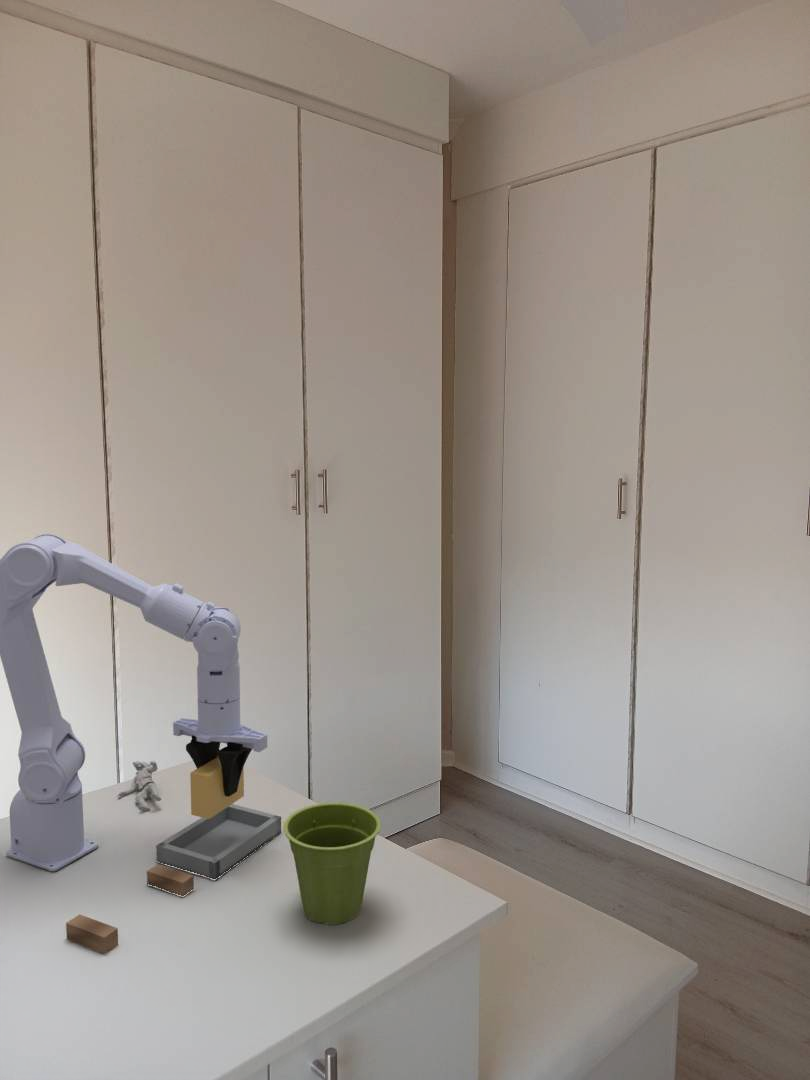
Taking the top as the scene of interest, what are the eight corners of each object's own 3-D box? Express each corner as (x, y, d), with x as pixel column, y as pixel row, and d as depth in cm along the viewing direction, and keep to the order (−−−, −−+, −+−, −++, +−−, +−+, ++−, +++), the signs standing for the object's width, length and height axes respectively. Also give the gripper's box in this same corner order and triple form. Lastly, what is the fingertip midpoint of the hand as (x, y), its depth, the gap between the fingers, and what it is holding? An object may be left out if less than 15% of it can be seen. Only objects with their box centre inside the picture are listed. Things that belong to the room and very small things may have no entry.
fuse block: (191, 814, 115) (190, 772, 115) (226, 792, 123) (225, 752, 122) (209, 819, 114) (208, 776, 113) (243, 795, 121) (243, 756, 121)
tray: (156, 862, 115) (156, 845, 115) (226, 818, 129) (226, 802, 128) (215, 880, 111) (214, 863, 111) (281, 832, 124) (281, 816, 124)
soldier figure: (123, 822, 129) (105, 772, 138) (145, 833, 132) (127, 784, 142) (160, 786, 130) (141, 738, 139) (181, 798, 133) (161, 751, 142)
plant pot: (263, 914, 104) (262, 827, 102) (329, 874, 113) (329, 794, 111) (335, 951, 97) (336, 858, 95) (399, 905, 106) (400, 820, 104)
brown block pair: (66, 939, 98) (66, 923, 98) (158, 878, 111) (157, 864, 111) (104, 953, 95) (104, 937, 95) (193, 890, 109) (193, 875, 108)
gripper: (157, 698, 116) (160, 792, 118) (245, 714, 110) (247, 812, 112) (190, 684, 123) (192, 773, 124) (275, 698, 117) (276, 792, 118)
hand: (220, 791), depth 119 cm, fingers closed on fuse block, 3 cm apart
